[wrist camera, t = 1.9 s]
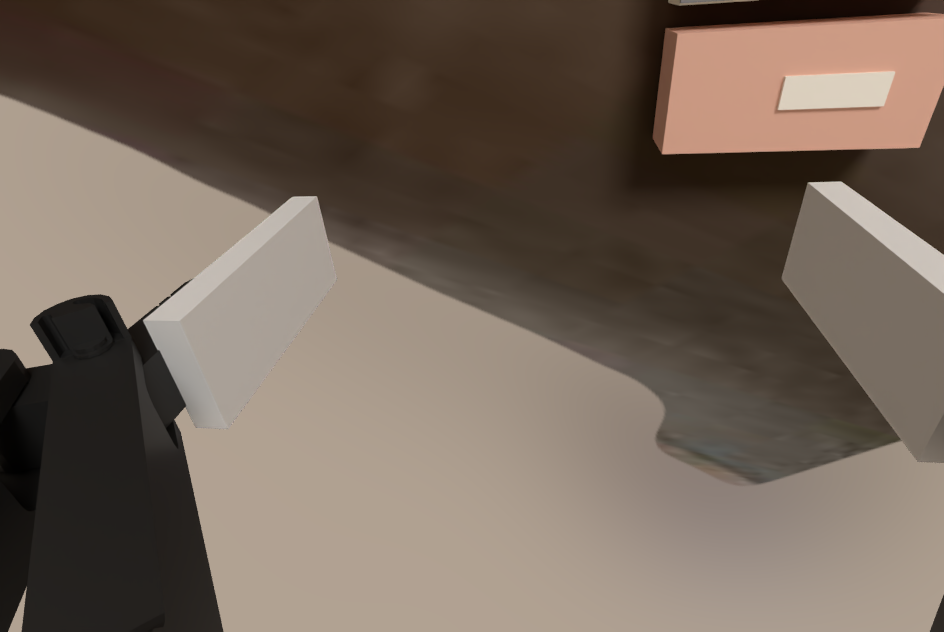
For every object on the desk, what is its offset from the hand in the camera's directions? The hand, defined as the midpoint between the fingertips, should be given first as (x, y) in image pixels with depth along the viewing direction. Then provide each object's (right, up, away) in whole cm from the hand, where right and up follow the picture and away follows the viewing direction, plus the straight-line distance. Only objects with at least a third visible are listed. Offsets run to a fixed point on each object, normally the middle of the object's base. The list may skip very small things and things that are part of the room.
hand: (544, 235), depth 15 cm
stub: (+15, +11, +15) cm, 24 cm away
